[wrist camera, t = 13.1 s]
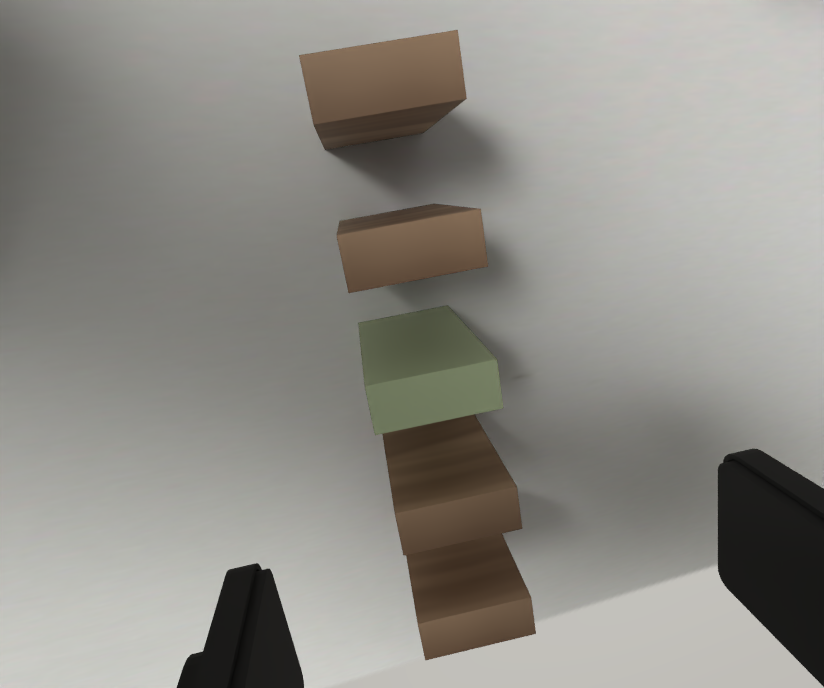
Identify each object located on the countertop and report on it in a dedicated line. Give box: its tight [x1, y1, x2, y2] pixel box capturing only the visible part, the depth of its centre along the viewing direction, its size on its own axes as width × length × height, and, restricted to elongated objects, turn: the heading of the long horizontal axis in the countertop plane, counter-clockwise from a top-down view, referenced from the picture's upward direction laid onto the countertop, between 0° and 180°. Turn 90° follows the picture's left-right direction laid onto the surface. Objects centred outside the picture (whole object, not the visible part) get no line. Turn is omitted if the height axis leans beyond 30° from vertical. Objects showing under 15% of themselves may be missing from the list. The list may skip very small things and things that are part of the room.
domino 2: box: [337, 204, 488, 293], centre depth 23 cm, size 2×5×10 cm, turn 100°
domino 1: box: [299, 30, 467, 150], centre depth 22 cm, size 2×5×10 cm, turn 100°
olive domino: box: [358, 306, 503, 435], centre depth 25 cm, size 2×5×10 cm, turn 100°
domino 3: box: [383, 415, 522, 555], centre depth 26 cm, size 2×5×10 cm, turn 100°
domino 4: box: [406, 533, 536, 660], centre depth 28 cm, size 2×5×10 cm, turn 100°
